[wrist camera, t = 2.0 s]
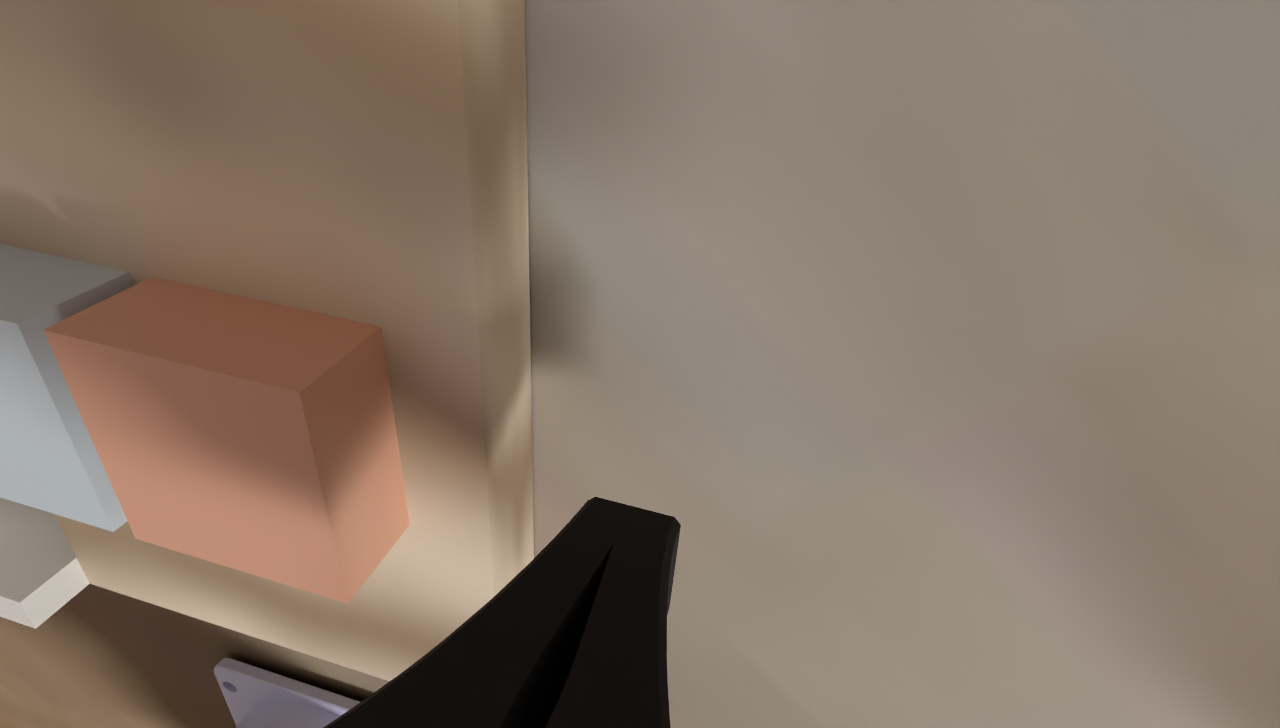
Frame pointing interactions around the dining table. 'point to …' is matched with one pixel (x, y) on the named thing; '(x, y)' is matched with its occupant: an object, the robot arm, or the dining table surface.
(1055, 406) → the dining table surface
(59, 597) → the box
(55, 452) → the blue tile
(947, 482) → the dining table surface
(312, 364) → the terracotta tile
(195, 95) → the birch plate
